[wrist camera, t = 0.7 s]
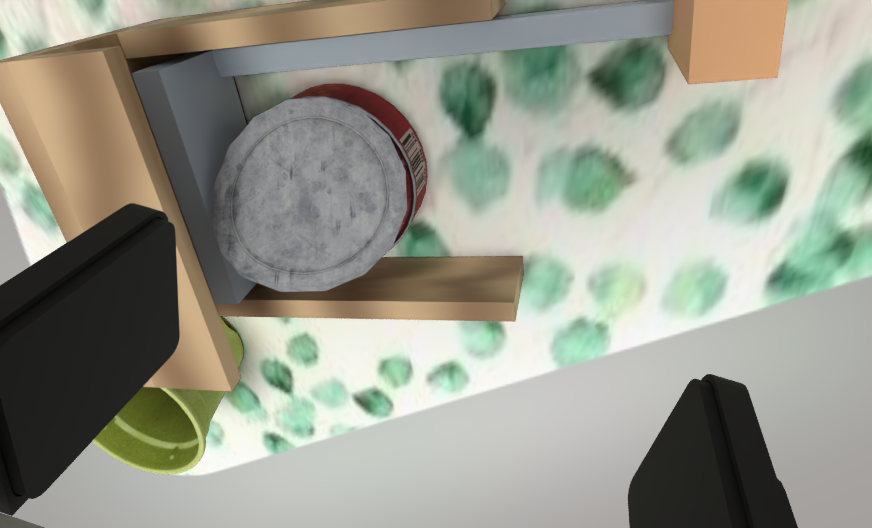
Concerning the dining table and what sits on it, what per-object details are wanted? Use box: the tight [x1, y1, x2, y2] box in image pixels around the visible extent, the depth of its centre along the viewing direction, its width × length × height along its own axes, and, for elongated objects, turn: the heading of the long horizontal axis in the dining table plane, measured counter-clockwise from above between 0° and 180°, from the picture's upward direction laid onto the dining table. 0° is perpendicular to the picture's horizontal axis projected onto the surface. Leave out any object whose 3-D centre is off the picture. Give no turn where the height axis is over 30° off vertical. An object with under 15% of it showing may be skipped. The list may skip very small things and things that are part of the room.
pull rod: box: [132, 0, 788, 304], centre depth 30 cm, size 28×14×7 cm, turn 98°
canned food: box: [211, 84, 427, 292], centre depth 33 cm, size 11×10×10 cm
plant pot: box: [93, 317, 243, 474], centre depth 42 cm, size 9×9×9 cm
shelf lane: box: [0, 0, 524, 391], centre depth 30 cm, size 19×16×12 cm
